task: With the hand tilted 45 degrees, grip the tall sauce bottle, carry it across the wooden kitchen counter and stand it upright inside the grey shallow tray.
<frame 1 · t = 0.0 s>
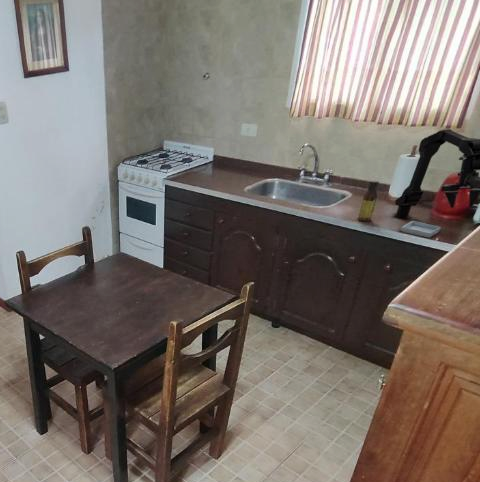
hand: (461, 207, 214), 15 cm above the kitchen counter, tool pointing down, fingers open, 9 cm apart
sauce bottle: (363, 220, 250), on the kitchen counter
grey shallow tray: (419, 231, 233), on the kitchen counter
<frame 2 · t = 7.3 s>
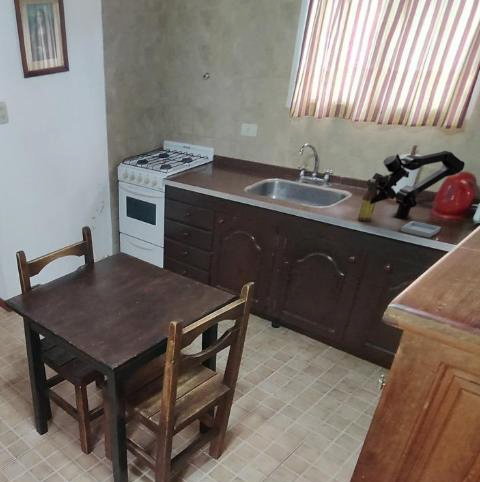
hand: (366, 201, 244), 10 cm above the kitchen counter, tool tilted 45°, fingers closed on sauce bottle, 6 cm apart
sauce bottle: (363, 220, 250), on the kitchen counter, touching gripper
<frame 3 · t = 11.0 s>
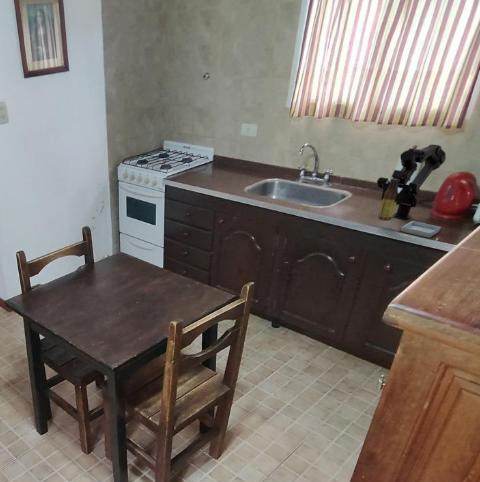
hand: (388, 200, 233), 13 cm above the kitchen counter, tool tilted 45°, fingers closed on sauce bottle, 6 cm apart
sauce bottle: (383, 219, 239), point 3 cm above the kitchen counter, touching gripper
when the fingers open (10 cm above the kitchen counter, at t = 15.0 s): sauce bottle stays where it is, resting on grey shallow tray.
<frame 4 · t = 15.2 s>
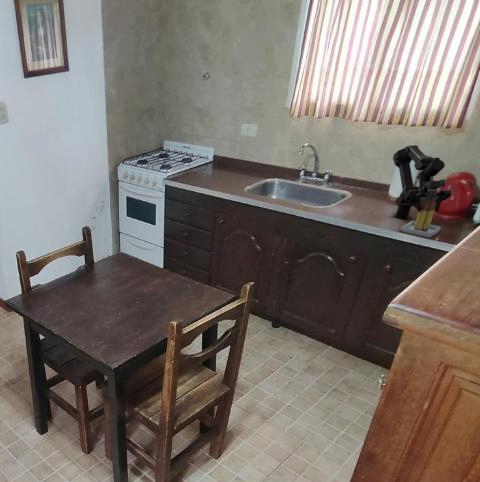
hand: (428, 211, 226), 10 cm above the kitchen counter, tool tilted 45°, fingers open, 7 cm apart
sauce bottle: (419, 230, 233), resting on grey shallow tray
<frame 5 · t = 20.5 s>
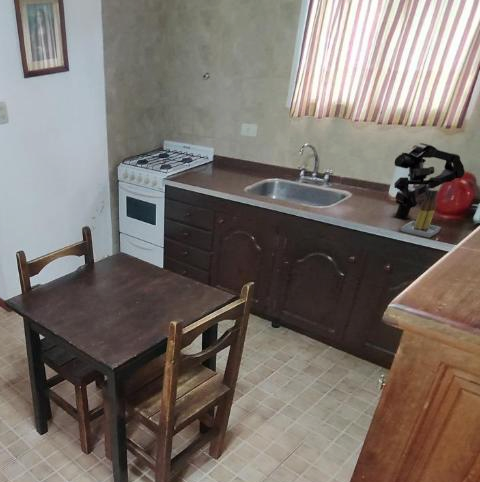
hand: (417, 198, 233), 14 cm above the kitchen counter, tool tilted 45°, fingers open, 9 cm apart
nothing on the kitchen counter moved.
at the end: sauce bottle inside the target area in the grey shallow tray (0.2 cm from its centre), point 0.2 cm above the grey shallow tray's base; sauce bottle tilted 0°; the gripper is holding nothing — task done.
